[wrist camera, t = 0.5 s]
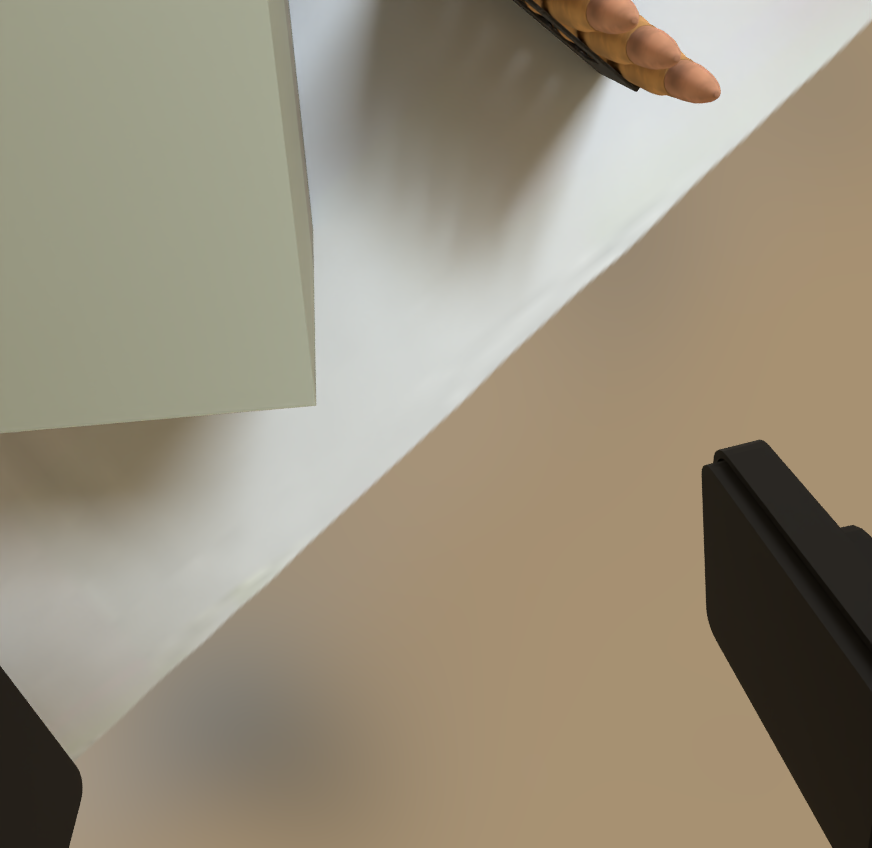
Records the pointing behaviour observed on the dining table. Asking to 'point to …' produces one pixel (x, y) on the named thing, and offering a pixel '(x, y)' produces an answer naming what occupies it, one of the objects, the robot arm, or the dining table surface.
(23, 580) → the dining table surface
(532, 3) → the ammunition clip
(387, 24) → the dining table surface
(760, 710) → the robot arm
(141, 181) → the miniature cabinet
